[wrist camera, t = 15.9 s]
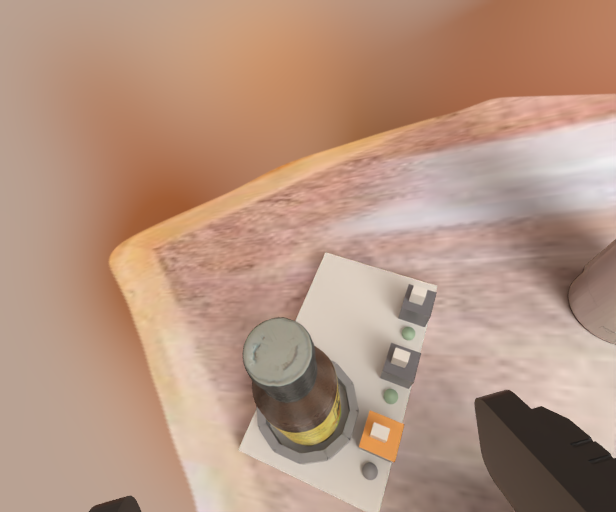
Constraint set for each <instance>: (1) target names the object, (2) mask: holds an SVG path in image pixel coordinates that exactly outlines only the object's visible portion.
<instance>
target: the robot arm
mask: <svg viewBox="0 0 616 512" xmlns="http://www.w3.org/2000/svg"><path fill="white" fill-rule="evenodd" d="M568 298H569V304H570V307H571V309H572V312H573V314H574V315H575V316H576V318H577V319H578V321H579V322H580V323H581V324H582V325H583V326H584V327H585V328H586V329H587V330H589V331H590V332H591V333H592V334H594V335H595V336H597V337H599V338H601V339H602V340H605V341H607V342H610V343H613V344H616V239H615V240H614V241H613V242H612V243H611V244H610V245H608V246H607V247H606V248H605V249H604V250H603V251H602V252H600V253H599V254H598V255H597V256H596V257H595V258H594V259H593V260H591V261H590V262H589V263H588V264H587V265H586V266H585V267H584V272H583V273H582V274H581V275H579V276H578V277H577V278H576V279H575V280H574V281H573V283H572V284H571V286H570V289H569V295H568ZM475 412H476V419H477V426H478V433H479V440H480V447H481V453H482V457H483V460H484V462H485V465H486V467H487V469H488V472H489V474H490V475H491V477H492V479H493V480H494V482H495V483H496V485H497V486H498V488H499V489H500V490H501V492H502V493H503V495H504V496H505V497H506V499H507V500H508V501H509V503H510V504H511V506H512V507H513V508H514V510H515V511H516V512H616V458H613V457H612V456H611V454H610V453H609V452H608V451H607V450H605V449H604V448H603V447H602V446H601V445H599V444H598V443H597V442H596V441H595V442H593V441H592V439H591V437H590V436H589V435H587V434H586V433H585V432H584V431H583V430H581V429H580V428H579V427H578V426H577V425H575V424H574V423H573V422H572V421H570V420H569V419H568V418H566V417H563V416H561V415H559V414H557V413H555V412H553V411H551V410H548V409H546V408H544V407H542V406H541V407H537V408H534V409H531V408H530V407H529V406H528V405H526V404H525V403H524V402H523V401H522V400H521V399H520V398H519V397H518V396H517V395H515V394H514V393H513V392H512V391H510V390H504V391H500V392H497V393H493V394H490V395H486V396H483V397H479V398H476V399H475ZM89 512H141V510H140V507H139V505H138V503H137V501H136V499H135V498H134V497H132V496H126V497H123V498H119V499H116V500H112V501H109V502H105V503H102V504H99V505H96V506H94V507H92V508H91V510H90V511H89Z"/></svg>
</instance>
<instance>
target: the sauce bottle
mask: <svg viewBox="0 0 616 512" xmlns="http://www.w3.org/2000/svg"><path fill="white" fill-rule="evenodd" d="M243 362H244V366H245V369H246V371H247V372H248V375H249V376H250V378H251V379H252V390H253V396H254V400H255V403H256V405H257V407H258V409H259V410H260V411H261V413H262V414H263V415H264V416H265V418H266V419H267V420H268V422H270V423H271V424H272V425H273V426H274V427H275V428H276V429H278V430H279V431H280V432H281V433H282V434H283V435H285V436H286V437H287V438H288V439H290V440H291V441H293V442H295V443H297V444H301V445H305V446H313V445H316V444H319V443H322V442H324V441H326V440H327V439H328V438H329V437H330V436H332V435H333V433H334V431H335V429H336V428H337V426H338V423H339V421H340V417H341V403H340V393H339V385H338V380H337V375H336V371H335V368H334V366H333V364H332V362H331V360H330V359H329V357H328V356H327V355H326V354H325V353H324V352H323V351H321V350H320V349H319V348H317V347H316V346H314V343H313V341H312V339H311V336H310V334H309V333H308V331H307V330H306V329H305V328H304V327H303V326H302V325H301V324H299V323H298V322H296V321H293V320H290V319H288V318H284V317H282V318H273V319H270V320H267V321H264V322H262V323H261V324H259V325H258V326H256V327H255V328H254V329H253V330H252V331H251V333H250V334H249V336H248V337H247V339H246V342H245V344H244V348H243Z"/></svg>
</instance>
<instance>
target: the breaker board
mask: <svg viewBox="0 0 616 512" xmlns="http://www.w3.org/2000/svg"><path fill="white" fill-rule="evenodd" d="M436 290H437V286H436V285H433V284H430V283H426V282H423V281H420V280H416V279H413V278H410V277H406V276H403V275H400V274H396V273H393V272H390V271H386V270H383V269H380V268H376V267H373V266H370V265H366V264H363V263H360V262H356V261H353V260H350V259H346V258H343V257H340V256H336V255H333V254H330V253H326V252H325V255H324V257H323V259H322V261H321V264H320V266H319V268H318V271H317V273H316V275H315V277H314V280H313V282H312V284H311V286H310V289H309V291H308V293H307V295H306V298H305V300H304V302H303V305H302V307H301V309H300V311H299V314H298V316H297V318H296V320H295V321H296V322H298V323H299V324H301V325H302V326H303V327H304V328H305V329H306V330H307V331H308V333H309V334H310V336H311V339H312V341H313V343H314V346H316V347H317V348H319V349H320V350H321V351H323V352H324V353H325V354H326V355H327V356H328V357H329V359H330V360H331V362H332V364H333V366H334V368H335V371H336V375H337V380H338V385H339V393H340V403H341V417H340V421H339V423H338V426H337V428H336V429H335V431H334V433H333V435H332V436H330V437H329V438H328V439H327V440H326V441H324V442H322V443H319V444H316V445H313V446H305V445H301V444H297V443H295V442H293V441H291V440H290V439H288V438H287V437H286V436H285V435H283V434H282V433H281V432H280V431H279V430H278V429H276V428H275V427H274V426H273V425H272V424H271V423H270V422H268V420H267V419H266V418H265V416H264V415H263V414H262V413H261V411H260V410H259V409H258V407H257V405H256V407H257V409H256V411H255V413H254V416H253V418H252V420H251V422H250V425H249V427H248V429H247V431H246V434H245V436H244V438H243V440H242V443H241V445H240V447H239V449H238V450H239V451H241V452H243V453H245V454H247V455H249V456H251V457H253V458H255V459H257V460H259V461H261V462H263V463H265V464H268V465H270V466H272V467H274V468H276V469H278V470H280V471H282V472H284V473H286V474H288V475H290V476H292V477H294V478H297V479H299V480H301V481H303V482H305V483H307V484H309V485H311V486H313V487H315V488H317V489H319V490H321V491H324V492H326V493H328V494H330V495H332V496H334V497H336V498H338V499H340V500H342V501H344V502H346V503H348V504H350V505H353V506H355V507H357V508H359V509H361V510H363V511H365V512H379V511H380V508H381V504H382V500H383V496H384V492H385V488H386V484H387V480H388V476H389V473H390V469H391V465H392V462H395V460H396V456H397V452H398V448H399V444H400V440H401V436H402V432H403V428H404V424H403V423H402V422H403V418H404V414H405V410H406V406H407V403H408V399H409V395H410V391H411V387H412V384H413V383H414V379H415V375H416V371H417V367H418V363H419V359H420V355H421V353H420V352H421V348H422V344H423V340H424V336H425V333H426V329H427V325H428V321H429V319H430V316H431V312H432V309H433V305H434V301H435V297H436V293H437V292H436Z"/></svg>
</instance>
